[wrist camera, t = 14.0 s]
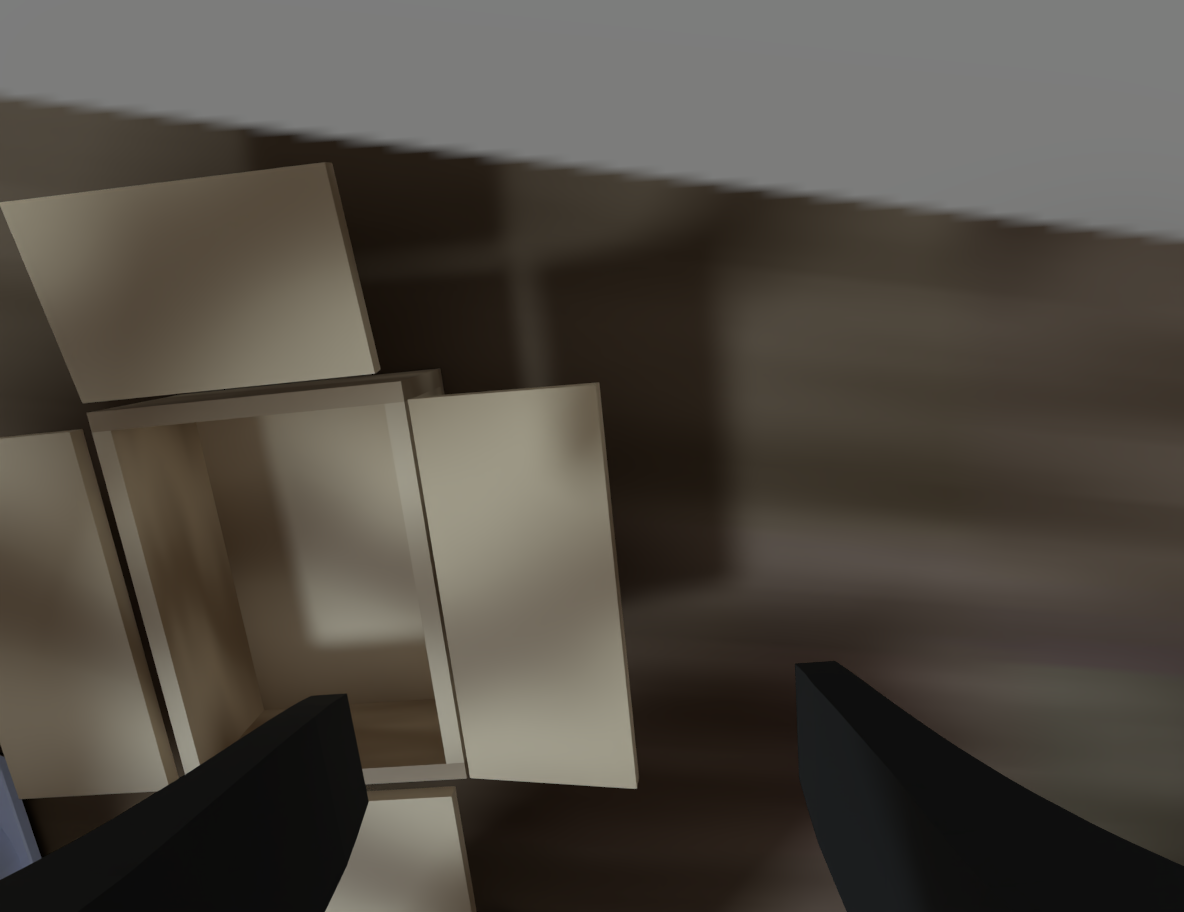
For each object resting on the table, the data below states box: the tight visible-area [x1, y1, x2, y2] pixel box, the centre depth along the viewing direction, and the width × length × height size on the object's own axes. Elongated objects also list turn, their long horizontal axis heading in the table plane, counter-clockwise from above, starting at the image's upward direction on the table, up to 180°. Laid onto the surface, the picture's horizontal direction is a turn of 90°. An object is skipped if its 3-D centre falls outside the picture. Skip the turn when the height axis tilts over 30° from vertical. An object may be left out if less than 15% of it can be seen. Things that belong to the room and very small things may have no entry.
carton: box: [0, 368, 477, 912], centre depth 19 cm, size 16×13×4 cm
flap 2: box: [408, 382, 639, 789], centre depth 16 cm, size 10×4×1 cm, turn 6°
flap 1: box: [0, 162, 381, 403], centre depth 15 cm, size 4×7×1 cm, turn 96°
